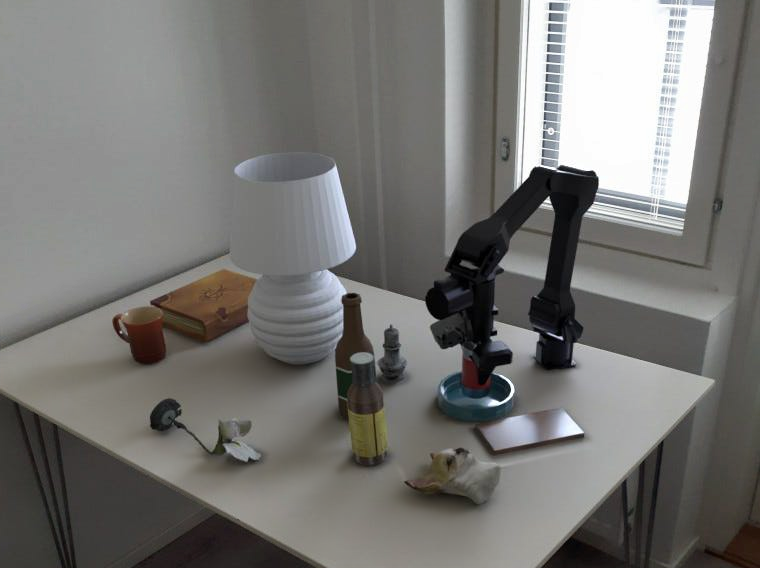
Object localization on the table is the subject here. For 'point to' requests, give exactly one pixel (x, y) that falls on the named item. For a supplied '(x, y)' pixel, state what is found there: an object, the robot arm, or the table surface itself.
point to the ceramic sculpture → (459, 476)
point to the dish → (475, 409)
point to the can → (471, 375)
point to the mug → (143, 333)
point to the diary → (207, 305)
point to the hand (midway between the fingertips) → (476, 377)
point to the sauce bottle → (366, 412)
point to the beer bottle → (349, 347)
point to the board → (528, 431)
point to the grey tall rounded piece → (392, 357)
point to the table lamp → (292, 251)
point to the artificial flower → (235, 427)
